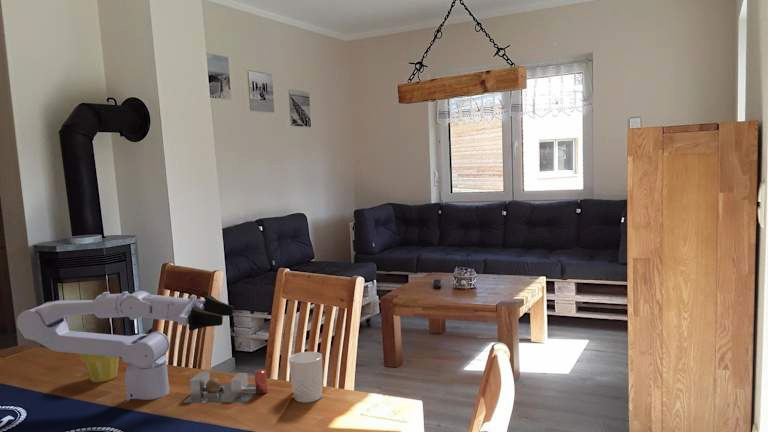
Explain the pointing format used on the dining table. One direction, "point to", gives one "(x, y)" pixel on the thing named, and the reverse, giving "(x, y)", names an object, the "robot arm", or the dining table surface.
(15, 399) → the dining table surface
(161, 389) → the robot arm
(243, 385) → the ram handle
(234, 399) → the bench
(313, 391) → the white cup
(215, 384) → the nut
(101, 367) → the plant pot
